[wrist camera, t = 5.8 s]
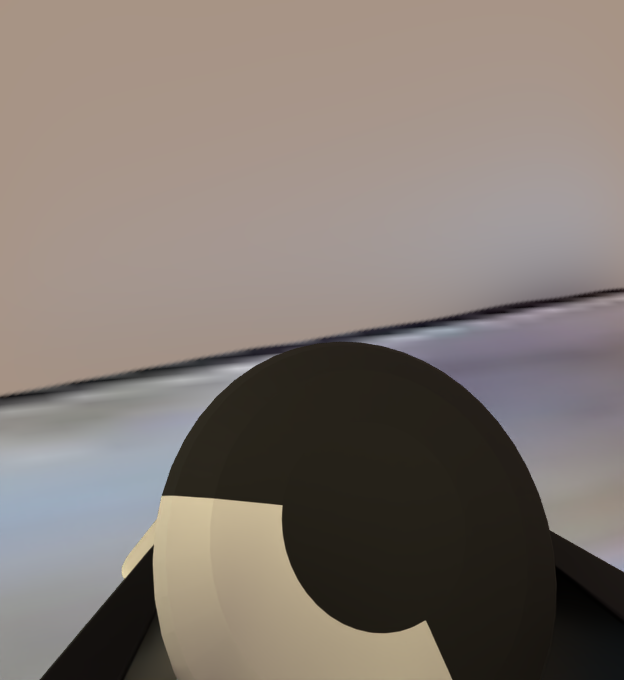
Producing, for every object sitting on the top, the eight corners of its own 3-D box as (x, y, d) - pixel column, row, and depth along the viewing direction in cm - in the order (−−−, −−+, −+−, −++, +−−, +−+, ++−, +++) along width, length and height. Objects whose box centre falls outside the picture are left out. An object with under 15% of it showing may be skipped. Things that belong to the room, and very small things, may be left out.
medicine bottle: (281, 412, 18) (302, 234, 7) (410, 501, 16) (670, 444, 6) (177, 555, 14) (-68, 621, 4) (327, 679, 13) (575, 1286, 3)
